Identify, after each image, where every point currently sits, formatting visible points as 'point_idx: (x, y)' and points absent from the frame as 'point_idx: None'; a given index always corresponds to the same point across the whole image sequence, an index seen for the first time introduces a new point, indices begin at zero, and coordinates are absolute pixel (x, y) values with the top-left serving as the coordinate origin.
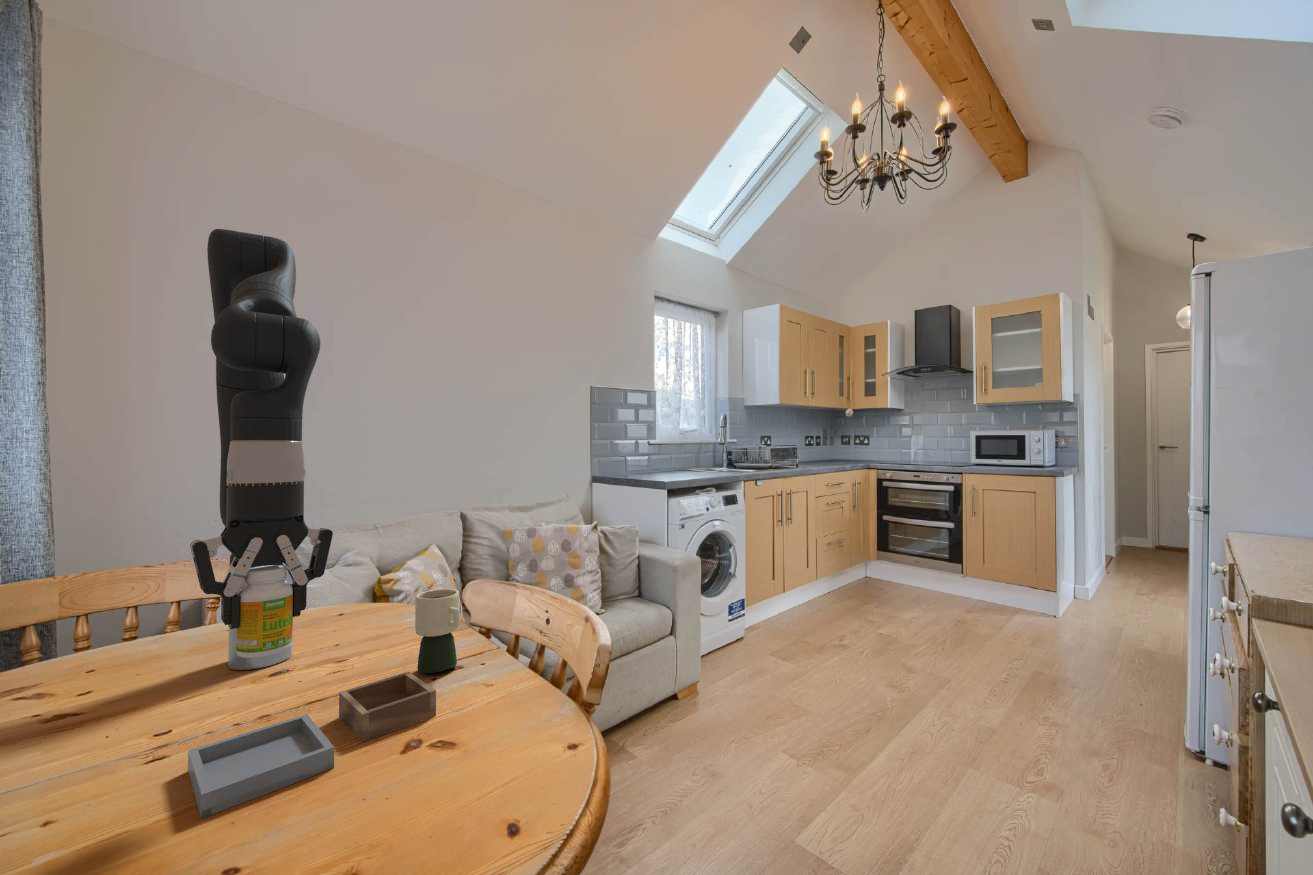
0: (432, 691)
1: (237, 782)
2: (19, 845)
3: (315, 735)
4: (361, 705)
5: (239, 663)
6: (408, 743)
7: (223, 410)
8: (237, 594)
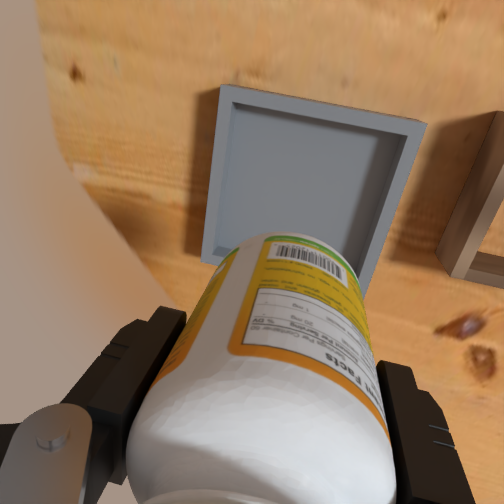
0: None
1: None
2: (56, 111)
3: (373, 237)
4: (483, 237)
5: None
6: (464, 318)
7: None
8: (120, 454)
